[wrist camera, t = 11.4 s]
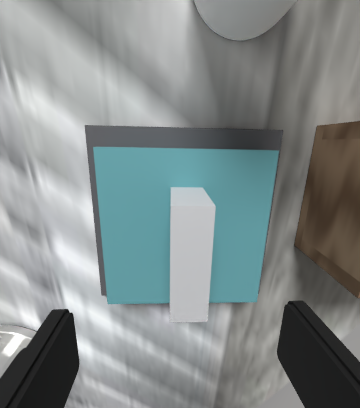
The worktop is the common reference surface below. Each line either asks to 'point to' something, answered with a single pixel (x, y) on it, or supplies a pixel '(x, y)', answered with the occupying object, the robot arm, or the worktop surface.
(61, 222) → the worktop surface
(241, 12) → the pill bottle
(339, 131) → the crate
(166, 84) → the worktop surface
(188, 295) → the lid
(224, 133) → the mat
